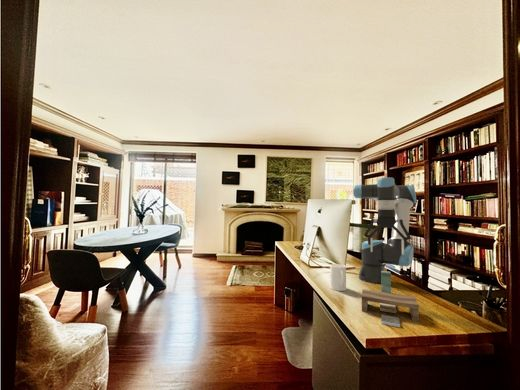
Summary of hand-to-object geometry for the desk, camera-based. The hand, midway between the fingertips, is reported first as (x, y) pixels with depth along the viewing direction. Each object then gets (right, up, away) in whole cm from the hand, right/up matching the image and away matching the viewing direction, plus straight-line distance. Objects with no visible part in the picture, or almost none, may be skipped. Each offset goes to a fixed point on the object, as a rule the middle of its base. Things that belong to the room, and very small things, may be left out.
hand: (386, 252), depth 118 cm
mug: (-20, -22, +9) cm, 31 cm away
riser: (-9, -20, -17) cm, 28 cm away
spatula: (-5, -21, -9) cm, 23 cm away
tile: (-13, -20, -27) cm, 36 cm away
